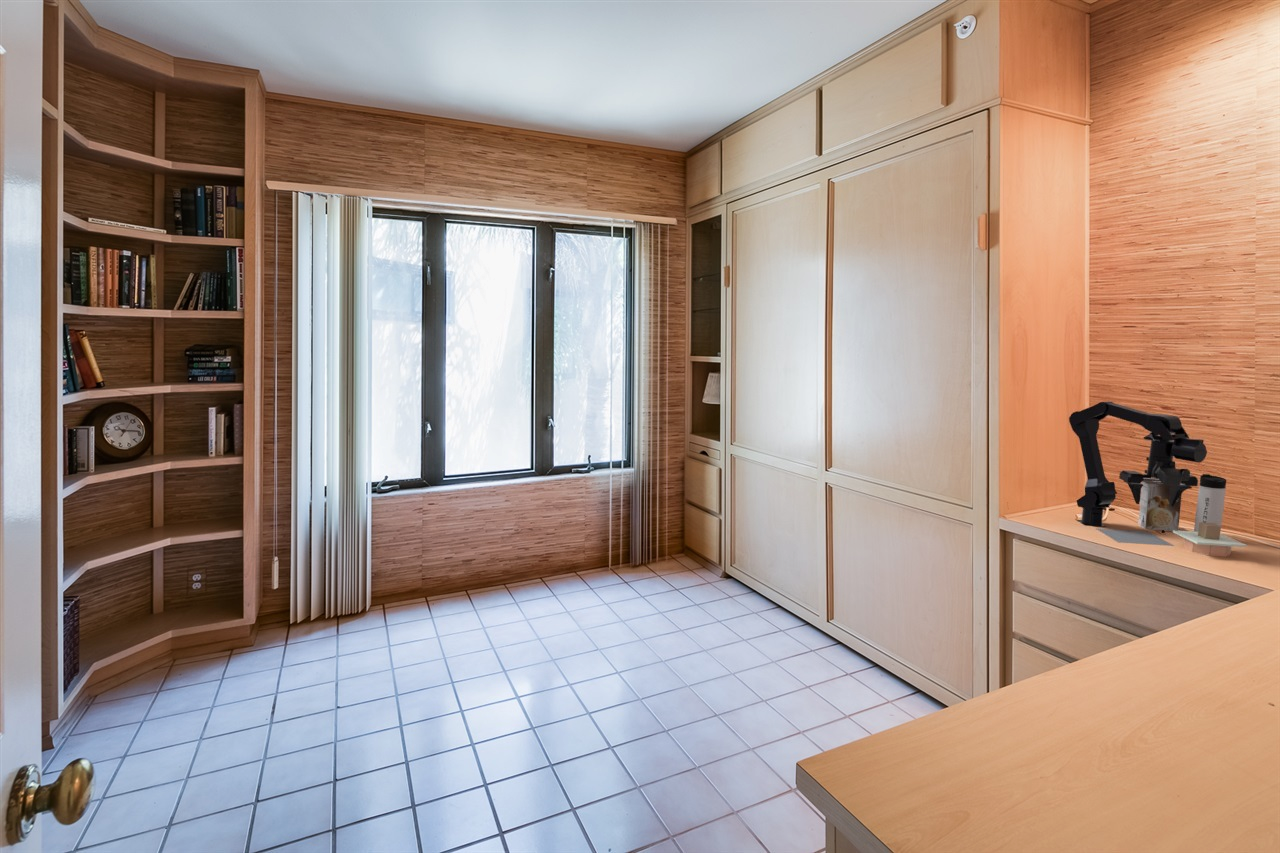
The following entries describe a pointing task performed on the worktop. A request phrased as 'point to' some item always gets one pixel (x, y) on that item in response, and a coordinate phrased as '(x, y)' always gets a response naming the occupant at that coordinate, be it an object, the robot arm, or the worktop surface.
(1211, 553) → the bowl
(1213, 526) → the lid
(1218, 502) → the travel mug
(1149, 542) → the mat
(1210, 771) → the worktop surface
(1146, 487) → the coffee box
